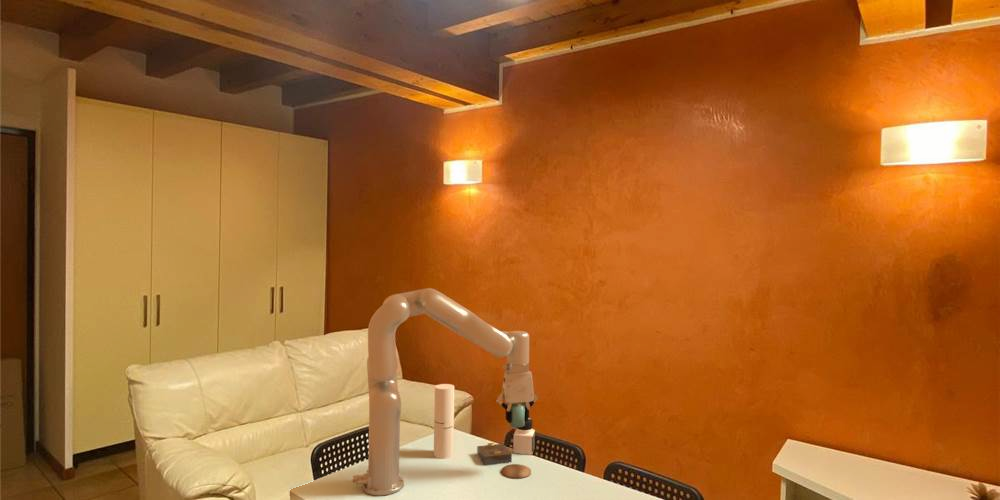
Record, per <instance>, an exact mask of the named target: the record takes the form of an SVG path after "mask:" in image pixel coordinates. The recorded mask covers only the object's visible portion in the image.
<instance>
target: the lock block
mask: <svg viewBox="0 0 1000 500" xmlns="http://www.w3.org/2000/svg"><path fill="white" fill-rule="evenodd" d="M476 449H477V451H476V453H477V454H476V455H477V456H478V458H479V459H480V461H481V463H482V464H483V465H484V466H492V465H499V464H501V463H502V464H508V463H509V462H511V463H512V461H513V460H512V456H513V454H512V452H510V450H509V449H508V448H507V447H506V445H505V443H496V444H495V442H490V443H489V442H488V443H487V445H477V446H476ZM502 464H501V465H502ZM509 464H510V463H509Z"/></svg>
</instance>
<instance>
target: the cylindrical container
mask: <svg viewBox="0 0 1000 500" xmlns="http://www.w3.org/2000/svg"><path fill="white" fill-rule="evenodd" d="M433 414H434V417H433V418H434V423H433V428H434V429H433V457H434V458H437V459H442V460H443V459H449V458H452V457H453V456H454V435H455V432H454V431H455V429H454V428H455V424H454V423H455V385H454V384H451V383H440V384H435V385H434V413H433Z"/></svg>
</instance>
